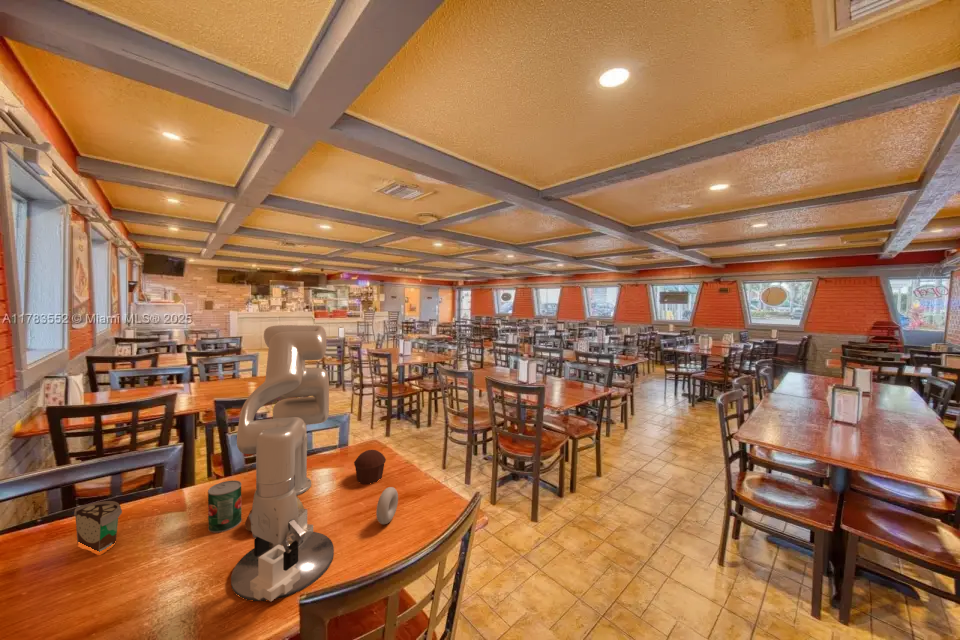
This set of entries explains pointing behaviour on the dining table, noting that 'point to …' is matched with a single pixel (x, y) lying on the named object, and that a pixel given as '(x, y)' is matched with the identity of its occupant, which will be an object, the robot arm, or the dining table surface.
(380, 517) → the donut
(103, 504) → the food container
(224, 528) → the canned tomato
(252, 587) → the hollow square tube block
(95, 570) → the dining table surface
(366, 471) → the muffin
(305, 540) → the carrier
